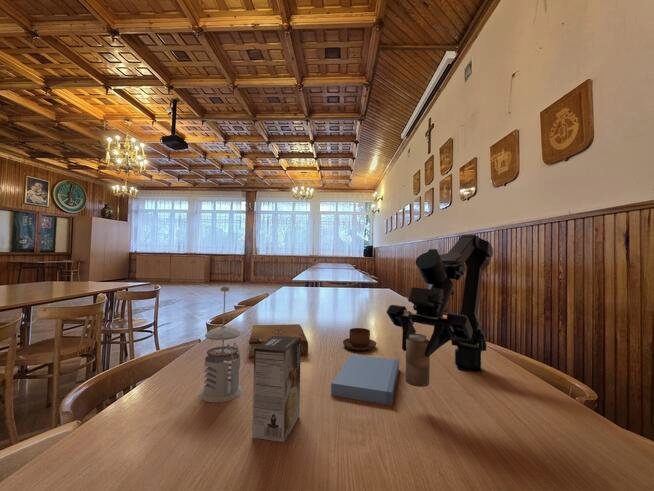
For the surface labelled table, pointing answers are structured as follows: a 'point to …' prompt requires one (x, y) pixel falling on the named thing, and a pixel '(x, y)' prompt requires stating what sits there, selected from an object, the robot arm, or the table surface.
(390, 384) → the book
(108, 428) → the table surface
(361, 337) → the cup and saucer
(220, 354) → the french press
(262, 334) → the diary
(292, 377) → the coffee box
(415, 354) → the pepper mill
